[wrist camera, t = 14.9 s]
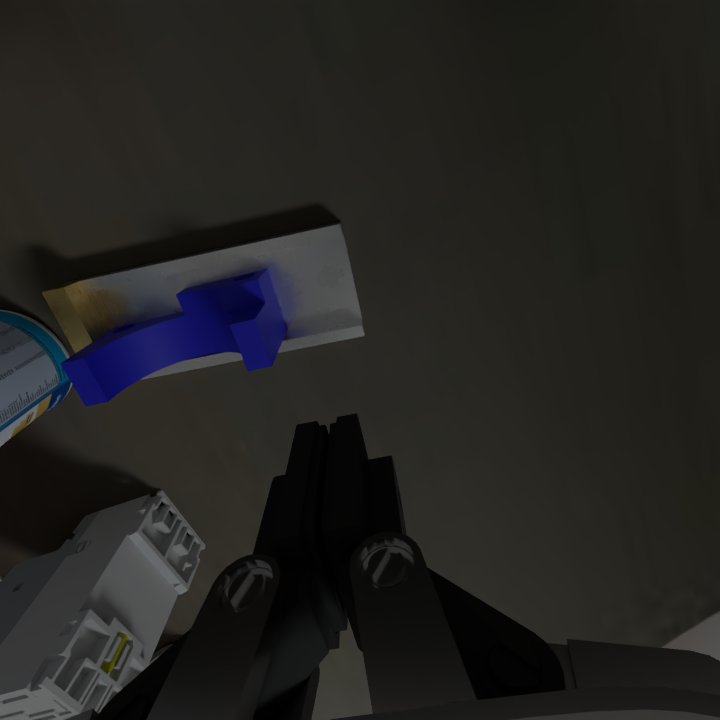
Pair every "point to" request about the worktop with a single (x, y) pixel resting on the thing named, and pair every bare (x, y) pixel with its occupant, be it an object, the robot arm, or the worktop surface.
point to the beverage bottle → (28, 372)
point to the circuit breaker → (92, 609)
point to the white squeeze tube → (168, 277)
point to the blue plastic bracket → (184, 336)
